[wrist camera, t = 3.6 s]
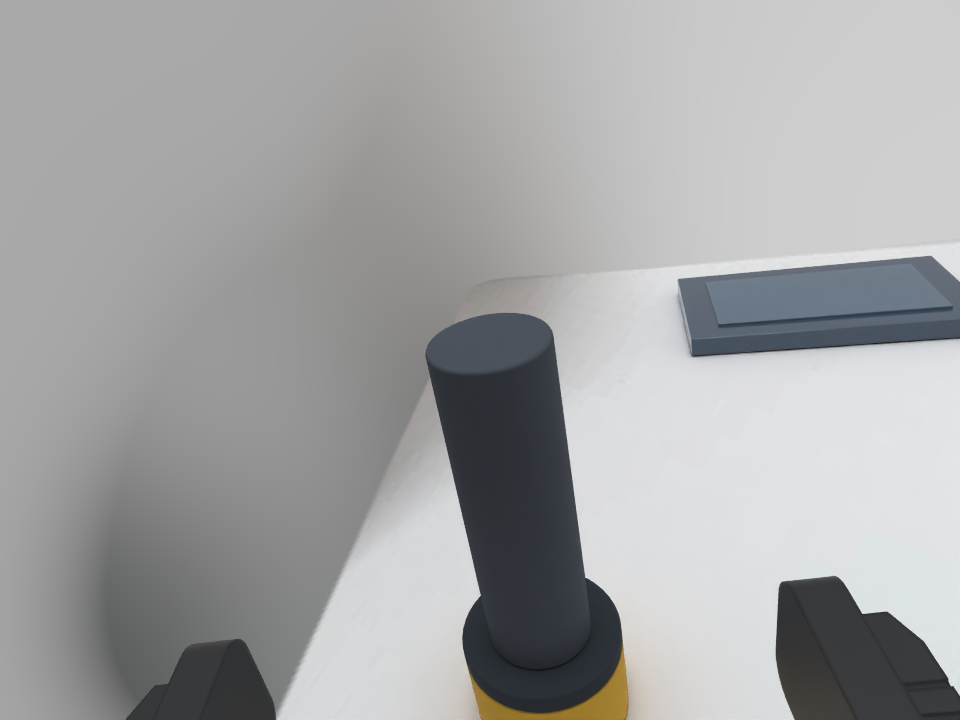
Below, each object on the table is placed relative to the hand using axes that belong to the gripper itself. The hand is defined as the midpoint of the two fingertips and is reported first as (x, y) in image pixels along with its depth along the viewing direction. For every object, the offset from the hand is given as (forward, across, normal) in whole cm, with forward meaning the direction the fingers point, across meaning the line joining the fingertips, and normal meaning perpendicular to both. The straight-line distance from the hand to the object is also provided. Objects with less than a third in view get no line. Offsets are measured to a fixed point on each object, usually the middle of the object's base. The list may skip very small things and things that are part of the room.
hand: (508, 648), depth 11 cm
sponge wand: (+6, 0, +10) cm, 12 cm away
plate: (+28, -16, +10) cm, 34 cm away
